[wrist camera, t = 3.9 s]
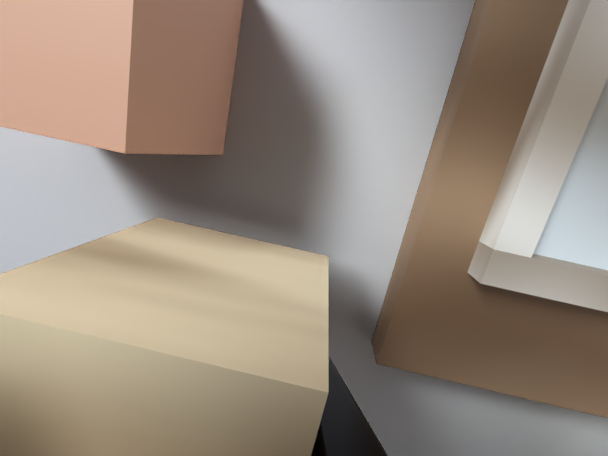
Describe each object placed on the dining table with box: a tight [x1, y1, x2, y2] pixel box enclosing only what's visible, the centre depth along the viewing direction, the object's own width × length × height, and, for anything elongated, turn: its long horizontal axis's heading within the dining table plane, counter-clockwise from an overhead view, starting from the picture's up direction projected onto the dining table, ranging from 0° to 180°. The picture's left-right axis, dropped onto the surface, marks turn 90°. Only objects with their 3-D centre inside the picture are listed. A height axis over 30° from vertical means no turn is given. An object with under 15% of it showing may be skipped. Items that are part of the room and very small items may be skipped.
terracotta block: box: [0, 0, 244, 155], centre depth 7 cm, size 5×5×5 cm
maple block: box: [0, 217, 329, 456], centre depth 7 cm, size 5×5×5 cm
